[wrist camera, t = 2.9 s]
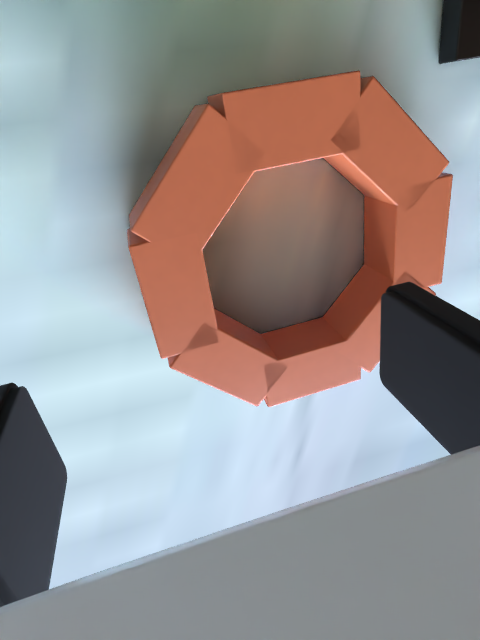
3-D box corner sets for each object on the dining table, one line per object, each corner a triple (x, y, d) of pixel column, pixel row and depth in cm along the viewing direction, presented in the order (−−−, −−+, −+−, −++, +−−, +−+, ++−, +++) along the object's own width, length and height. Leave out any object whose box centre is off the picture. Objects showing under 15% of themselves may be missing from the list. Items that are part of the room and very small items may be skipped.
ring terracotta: (175, 400, 19) (182, 433, 17) (93, 115, 14) (89, 114, 11) (403, 334, 21) (434, 357, 19) (420, 61, 16) (466, 52, 13)
